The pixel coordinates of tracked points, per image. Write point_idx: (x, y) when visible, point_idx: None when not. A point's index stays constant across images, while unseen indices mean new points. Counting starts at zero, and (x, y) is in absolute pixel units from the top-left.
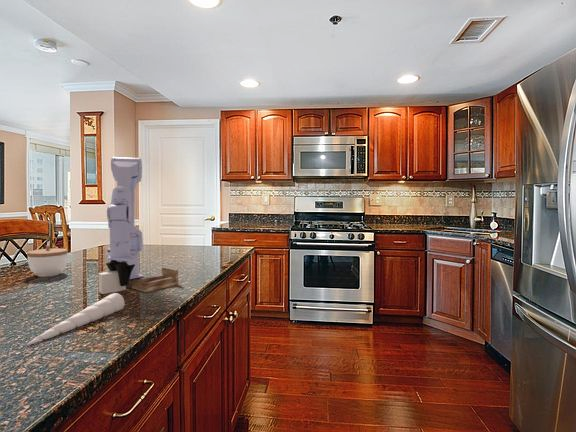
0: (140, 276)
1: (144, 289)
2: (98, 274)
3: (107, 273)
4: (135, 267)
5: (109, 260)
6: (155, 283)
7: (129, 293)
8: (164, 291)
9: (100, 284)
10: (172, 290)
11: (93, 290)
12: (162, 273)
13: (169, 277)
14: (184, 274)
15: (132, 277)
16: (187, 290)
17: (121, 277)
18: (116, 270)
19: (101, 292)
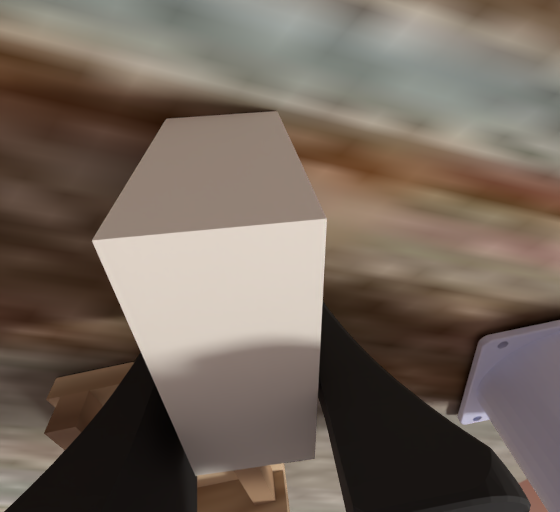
0: (462, 410)
1: (59, 391)
2: (314, 204)
3: (174, 332)
4: (519, 462)
5: None
6: None
7: (71, 304)
8: (29, 439)
9: (207, 148)
10: (37, 461)
11: (402, 82)
12: (280, 508)
13: (209, 505)
14: (340, 506)
15: (477, 383)
16: (5, 494)
17: (121, 389)
18: (328, 423)
19: (183, 121)
